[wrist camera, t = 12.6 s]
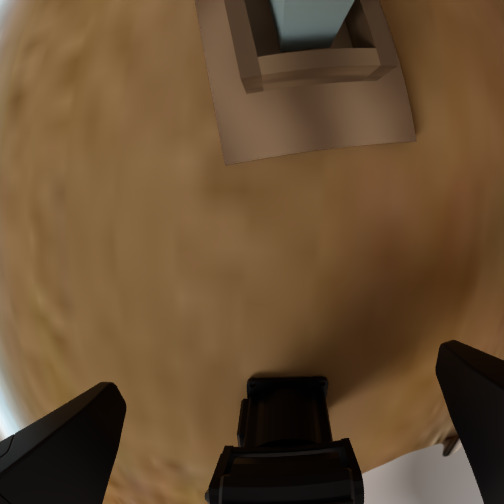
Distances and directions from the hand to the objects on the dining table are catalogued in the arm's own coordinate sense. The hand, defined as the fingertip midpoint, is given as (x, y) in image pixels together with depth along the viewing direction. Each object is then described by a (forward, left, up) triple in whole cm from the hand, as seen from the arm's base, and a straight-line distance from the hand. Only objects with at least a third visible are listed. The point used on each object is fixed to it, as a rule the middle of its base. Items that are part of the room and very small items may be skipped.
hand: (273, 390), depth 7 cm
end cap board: (-2, -15, -13) cm, 20 cm away
